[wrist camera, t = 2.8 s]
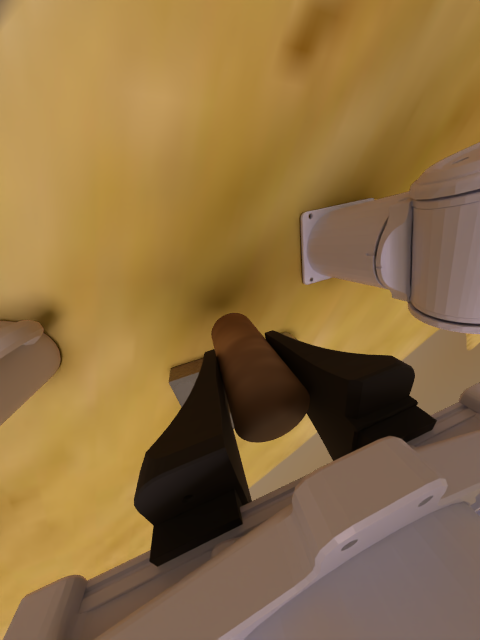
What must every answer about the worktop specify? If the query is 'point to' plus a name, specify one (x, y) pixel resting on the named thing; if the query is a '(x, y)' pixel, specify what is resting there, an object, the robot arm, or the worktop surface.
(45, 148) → the worktop surface
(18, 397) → the cup
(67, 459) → the worktop surface
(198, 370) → the collar plate
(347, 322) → the worktop surface
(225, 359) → the walnut dowel
